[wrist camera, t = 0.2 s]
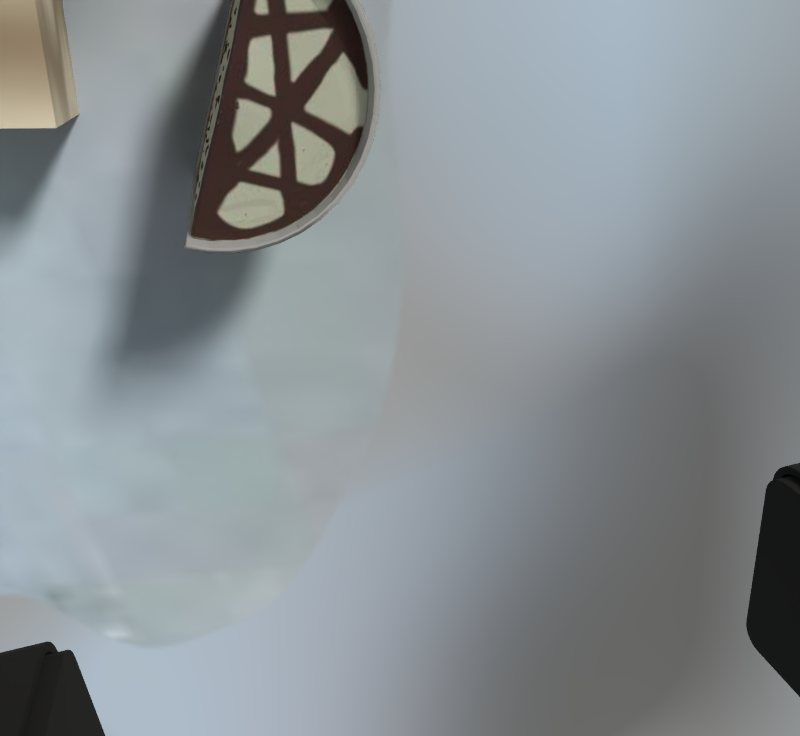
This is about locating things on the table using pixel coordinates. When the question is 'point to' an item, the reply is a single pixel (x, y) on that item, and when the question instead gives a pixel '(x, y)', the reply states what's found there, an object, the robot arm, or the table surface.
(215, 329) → the table surface
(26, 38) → the beech cube
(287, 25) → the food container
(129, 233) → the table surface
